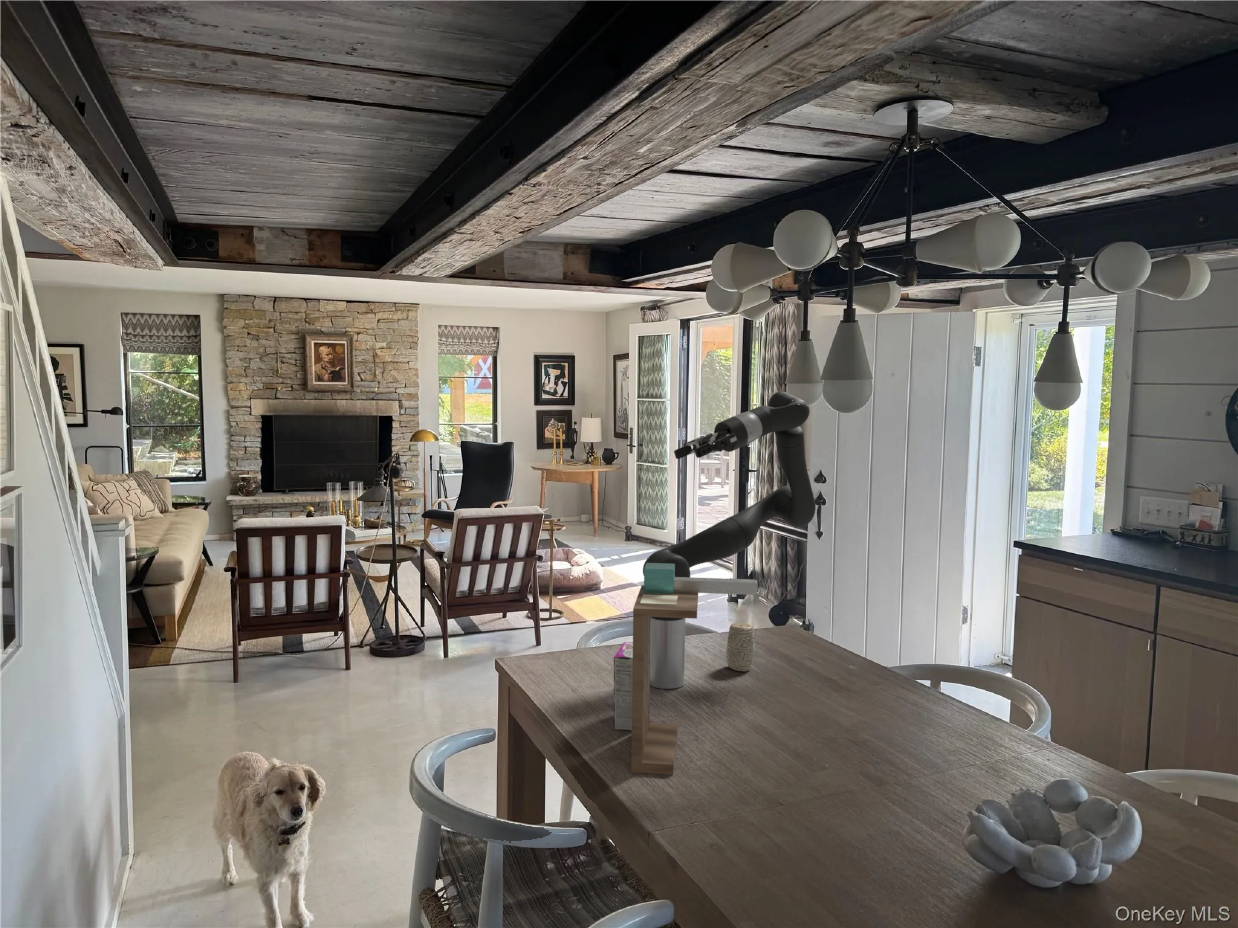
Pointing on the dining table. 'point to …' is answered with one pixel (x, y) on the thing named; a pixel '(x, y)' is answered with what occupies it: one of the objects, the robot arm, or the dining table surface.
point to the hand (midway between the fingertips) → (685, 454)
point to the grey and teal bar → (692, 582)
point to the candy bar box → (623, 687)
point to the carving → (740, 646)
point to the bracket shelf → (649, 739)
